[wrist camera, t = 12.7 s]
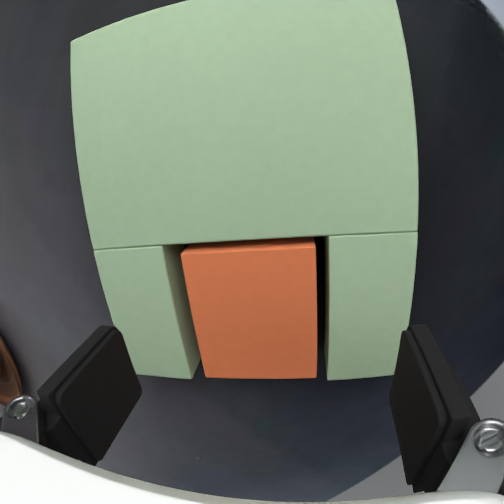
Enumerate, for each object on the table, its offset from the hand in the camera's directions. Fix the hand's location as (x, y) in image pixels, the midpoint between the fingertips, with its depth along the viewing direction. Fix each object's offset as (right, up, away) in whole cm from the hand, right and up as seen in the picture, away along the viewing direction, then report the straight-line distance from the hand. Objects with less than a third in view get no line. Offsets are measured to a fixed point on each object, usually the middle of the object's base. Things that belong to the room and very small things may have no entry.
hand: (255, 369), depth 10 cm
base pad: (0, +6, +4) cm, 7 cm away
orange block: (0, +2, +5) cm, 5 cm away
